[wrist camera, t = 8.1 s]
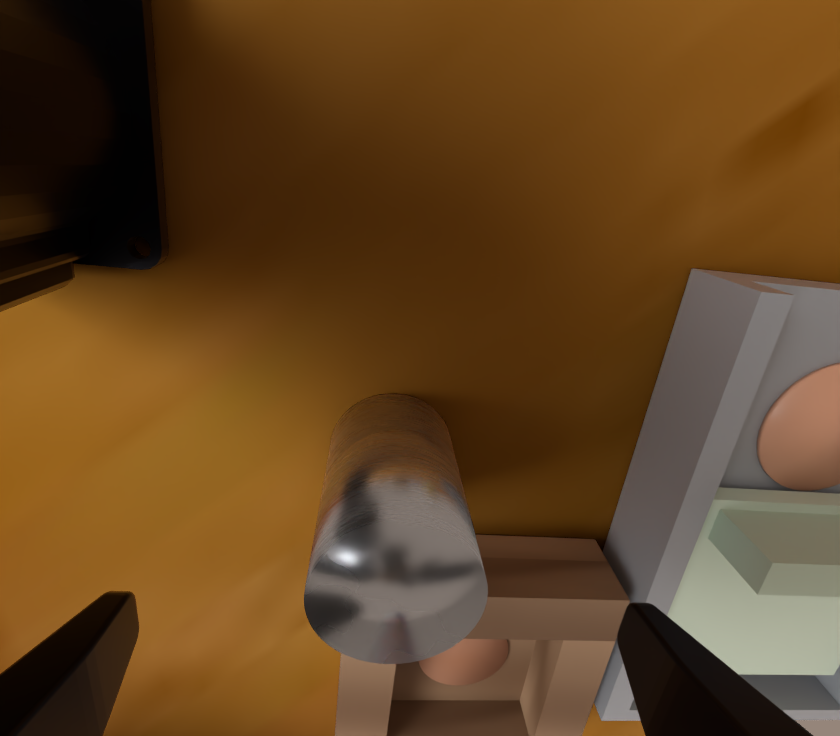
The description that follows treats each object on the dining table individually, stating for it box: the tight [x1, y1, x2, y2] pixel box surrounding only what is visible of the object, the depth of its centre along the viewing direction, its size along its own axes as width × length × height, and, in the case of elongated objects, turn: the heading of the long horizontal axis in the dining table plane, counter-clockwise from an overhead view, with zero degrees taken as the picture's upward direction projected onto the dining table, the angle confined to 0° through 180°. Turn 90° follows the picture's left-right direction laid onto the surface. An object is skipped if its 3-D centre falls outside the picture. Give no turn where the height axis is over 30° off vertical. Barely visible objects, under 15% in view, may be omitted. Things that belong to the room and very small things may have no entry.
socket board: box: [335, 535, 630, 736], centre depth 16 cm, size 8×8×2 cm
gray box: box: [594, 268, 840, 721], centre depth 15 cm, size 14×9×3 cm, turn 174°
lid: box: [667, 487, 840, 675], centre depth 15 cm, size 7×7×3 cm
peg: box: [304, 394, 488, 664], centre depth 12 cm, size 4×4×6 cm
